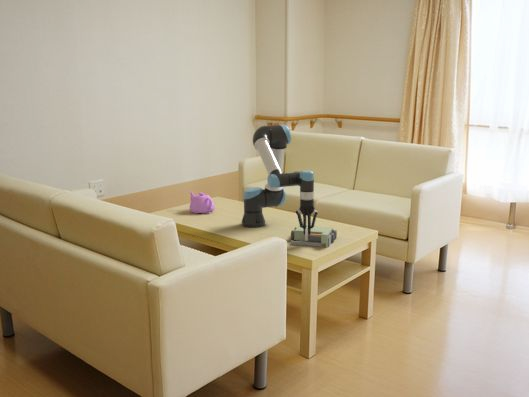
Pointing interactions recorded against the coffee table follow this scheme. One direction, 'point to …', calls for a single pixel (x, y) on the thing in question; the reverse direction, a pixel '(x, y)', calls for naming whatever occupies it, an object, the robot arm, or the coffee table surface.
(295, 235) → the green wheeled box
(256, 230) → the coffee table surface
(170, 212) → the coffee table surface
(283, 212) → the coffee table surface
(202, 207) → the teapot
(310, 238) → the orange striped grey block
